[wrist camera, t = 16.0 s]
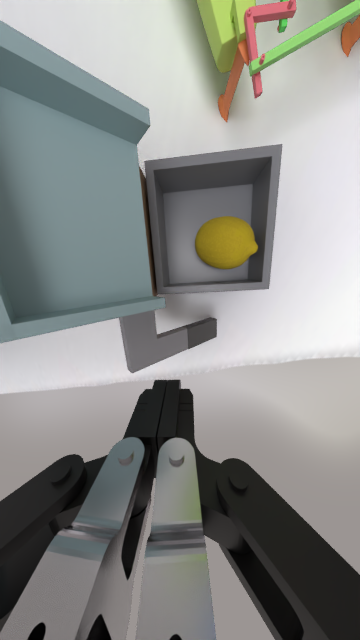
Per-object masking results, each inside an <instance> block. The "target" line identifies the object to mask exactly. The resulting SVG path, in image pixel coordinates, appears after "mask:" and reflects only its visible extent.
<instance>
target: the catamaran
mask: <svg viewBox="0 0 360 640" xmlns="http://www.w3.org/2000/svg"><path fill="white" fill-rule="evenodd" d="M196 1H197V4H198V8H199V11H200V15H201V18H202V21H203V25H204V28H205V31H206V35H207V38H208V41H209V44H210V48H211V51H212V54H213V57H214V61H215V64H216V67H217V69H218V70H219V71H220V72H222V73H225V72H228V71H230V70H231V72H230V76H229V79H228V83H227V87H226V90H225V94H224V95H223V94H221V95H220V97H219V100H218V106H219V111H220V113H221V116H222V118H223V119H224V120H225V121H226V122H227V120H228V110H229V107H230V104H231V101H232V99H233V96H234V93H235V90H236V87H237V84H238V81H239V78H240V75H241V72H242V69H243V66H244V63H246V65H247V66H248V65H249V60H250V66H249V73H250V76H252V81H253V89H254V96H255V98H257V97H259V96H260V95H261V93H262V84H261V76H260V71H261V70H263V69H264V68H266V67H268V66H270V65H271V64H273V63H275V62H277V61H278V60H280V59H282V58H284V57H285V56H287V55H289V54H290V53H292V52H294V51H296V50H297V49H299V48H301V47H303V46H304V45H306V44H308V43H310V42H311V41H313V40H315V39H317V38H318V37H320V36H322V35H324V34H325V33H327V32H329V31H331V30H332V29H334V28H336V27H338V26H339V25H341V24H343V23H344V22H346V21H348V20H350V19H351V18H353V17H355V16H357V15H358V14H360V0H355V1H353V2H352V3H350V4H348V5H347V6H345V7H343V8H341V9H340V10H338V11H336V12H335V13H333V14H331V15H330V16H328V17H326V18H325V19H323V20H321V21H319V22H318V23H316V24H314V25H313V26H311V27H309V28H308V29H306V30H304V31H302V32H301V33H299V34H297V35H296V36H294V37H292V38H291V39H289V40H287V41H285V42H284V43H282V44H280V45H279V46H277V47H275V48H274V49H272V50H270V51H268V52H267V53H265V54H262V56H260V57H258V52H257V44H256V36H255V29H256V24H257V23H259V22H266V21H272V20H279V26H278V28H277V30H278V32H279V33H281V32H284V31H285V29H286V26H287V18H293V16H294V14H295V11H296V0H290V1H289V0H280V2H278V3H271V4H265V5H258V6H256V1H255V0H196ZM359 38H360V15H359V17H358V18H357V19H356V20H355V22H354V23H353V24H351V23H350V22H347V23H346V24H345V26H344V28H343V31H342V48H343V51H344V53H345V54H346V56H347V57H348V56H349V53H350V50H351V47H352V46H353V45H354V44H355V42H356V41H357V40H358V39H359Z"/></svg>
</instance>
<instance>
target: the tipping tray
mask: <svg viewBox="0 0 360 640" xmlns="http://www.w3.org/2000/svg"><path fill="white" fill-rule="evenodd" d="M149 127H150V117H149V109H148V108H146V107H144V106H143V105H141V104H139V103H138V102H136V101H134V100H133V99H131V98H129V97H128V96H126V95H124V94H123V93H121V92H119V91H118V90H116V89H114V88H113V87H111V86H109V85H108V84H106V83H104V82H103V81H101V80H99V79H98V78H96V77H94V76H92V75H91V74H89V73H87V72H86V71H84V70H82V69H81V68H79V67H77V66H76V65H74V64H72V63H71V62H69V61H67V60H66V59H64V58H62V57H61V56H59V55H57V54H56V53H54V52H52V51H51V50H49V49H47V48H46V47H44V46H42V45H41V44H39V43H37V42H36V41H34V40H32V39H30V38H29V37H27V36H25V35H24V34H22V33H20V32H19V31H17V30H15V29H14V28H12V27H10V26H9V25H7V24H5V23H4V22H2V21H0V343H3V342H8V341H13V340H17V339H22V338H26V337H31V336H36V335H40V334H45V333H50V332H54V331H59V330H63V329H68V328H73V327H77V326H82V325H86V324H91V323H96V322H100V321H105V320H110V319H114V318H119V320H120V326H121V332H122V338H123V344H124V350H125V355H126V361H127V367H128V370H129V371H130V372H131V373H134V372H136V371H139V370H141V369H143V368H145V367H148V366H150V365H152V364H155V363H157V362H159V361H161V360H164V359H166V358H168V357H171V356H173V355H175V354H177V353H180V352H182V351H184V350H187V349H190V348H192V347H195V346H197V345H199V344H201V343H204V342H206V341H208V340H210V339H213V338H215V337H217V319H214V318H207V319H204V320H201V321H198V322H195V323H192V324H189V325H185V326H182V327H179V328H176V329H173V330H170V331H167V332H164V333H161V334H158V335H157V333H156V323H155V314H154V310H156V309H160V308H165V307H166V305H165V298H163V297H156V296H153V295H152V285H151V276H150V267H149V257H148V248H147V238H146V229H145V219H144V210H143V200H142V191H141V182H140V172H139V163H138V153H137V144H138V142H139V141H140V139H141V138H142V137H143V135H144V134H145V132H146V131H147V130H148V128H149Z"/></svg>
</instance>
